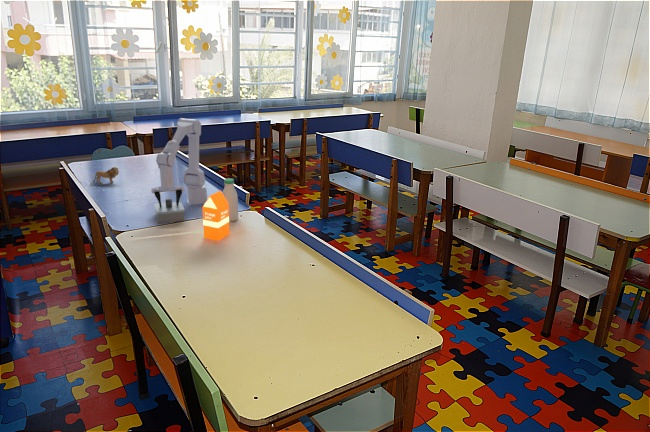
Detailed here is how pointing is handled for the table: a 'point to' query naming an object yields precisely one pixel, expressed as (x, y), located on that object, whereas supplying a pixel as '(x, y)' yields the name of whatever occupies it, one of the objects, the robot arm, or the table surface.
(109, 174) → the lion figurine
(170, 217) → the storage box
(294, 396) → the table surface
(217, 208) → the orange juice
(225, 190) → the milk bottle
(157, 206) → the lid
